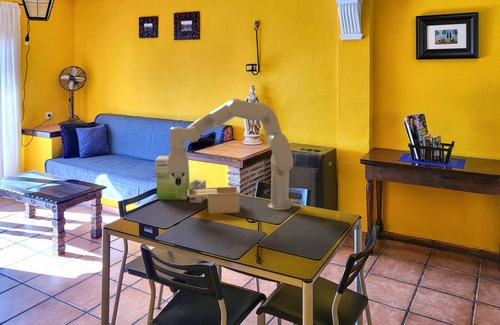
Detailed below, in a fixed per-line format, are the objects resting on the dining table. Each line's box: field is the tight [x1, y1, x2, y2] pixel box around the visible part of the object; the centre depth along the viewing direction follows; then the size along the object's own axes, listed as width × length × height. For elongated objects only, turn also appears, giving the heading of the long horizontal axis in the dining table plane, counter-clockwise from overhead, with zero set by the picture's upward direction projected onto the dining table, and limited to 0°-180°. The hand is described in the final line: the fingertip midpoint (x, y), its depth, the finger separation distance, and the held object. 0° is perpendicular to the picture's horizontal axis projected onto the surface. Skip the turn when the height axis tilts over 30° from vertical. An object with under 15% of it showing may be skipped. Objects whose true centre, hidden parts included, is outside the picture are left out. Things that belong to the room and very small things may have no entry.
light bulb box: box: [189, 179, 207, 204], centre depth 238 cm, size 11×7×11 cm, turn 168°
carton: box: [206, 186, 240, 215], centre depth 223 cm, size 16×12×11 cm
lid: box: [187, 183, 217, 198], centre depth 220 cm, size 16×10×4 cm, turn 99°
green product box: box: [154, 155, 190, 200], centre depth 241 cm, size 18×10×24 cm, turn 88°
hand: (178, 185), depth 217 cm, fingers closed
